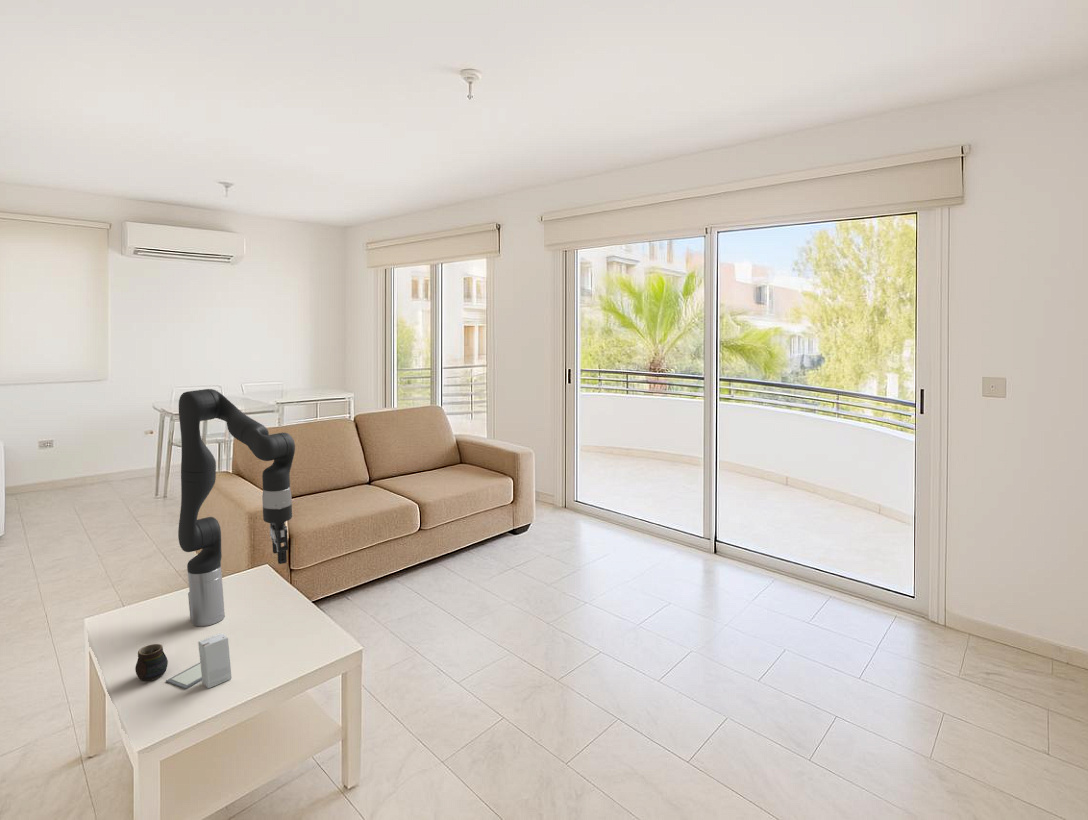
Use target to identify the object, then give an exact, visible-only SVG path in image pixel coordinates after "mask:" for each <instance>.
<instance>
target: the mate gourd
mask: <svg viewBox="0 0 1088 820" xmlns="http://www.w3.org/2000/svg"><path fill="white" fill-rule="evenodd" d="M163 647H164V646H163V644H160V643H151V644H148V645H145V646H143V647H141V648H139V650H138V652H137V661H136V664H135V666H134V668H135V669H134V670H135V674H136V676H137V678H138V679H139V680H140V681H144V682H151V681H155V680H158V679H159V678H161V677H162V676H163V675H165V673H166V672H167V670H168V669H167V667H168V663H169V660H168V658H167V656H166V654H165V652H164V648H163Z"/></svg>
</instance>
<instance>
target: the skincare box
mask: <svg viewBox="0 0 1088 820" xmlns="http://www.w3.org/2000/svg"><path fill="white" fill-rule="evenodd" d="M197 645H198V652H199V663H200V664H201V674H202V681H201V683H202V684H203V685H204V686H205V687H206V688H207V689H211V688H213V687H215V686H217V685H220V684H223V683H224V682H227V681H229V680H232V679H233V678H232V667H231V657H230V646H229V638H228V636H227V635H225V634H224V633H222V632H221V633H218V634H215V635H212V636H209V637H208V638H207V637H206V638H204V639H202V640H201V639H200V640H199V641H198V642H197Z"/></svg>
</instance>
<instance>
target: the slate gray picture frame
mask: <svg viewBox="0 0 1088 820" xmlns="http://www.w3.org/2000/svg"><path fill="white" fill-rule="evenodd" d="M165 682H166V683H169V684H172V685H174V686H177V687H179V688H182V689H184V690H188V689H189V688H191V687H194V686H195V685H196V684H198V683H200V682H202V674H201V664H200V662H198V663H197V664H196V663H195V664H194V665H192V666H190V667H188V668H186V669H185V670H183V671H181V672H180V673H177V674H174V676H172V677H170V678H168V679H166V680H165Z"/></svg>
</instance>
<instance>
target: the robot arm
mask: <svg viewBox="0 0 1088 820" xmlns="http://www.w3.org/2000/svg"><path fill="white" fill-rule="evenodd" d="M178 418H179V419H178V420H179V429H180V440H181V462H180V486H181V488H180V489H181V490H180V491H181V492H180V493H181V494H180V511H179V521H178V528H177V529H178V531H177V533H178V544H179V547H180V548H181V550H182V551H184V552H186V553H191V552H196V551H200V552H199V553H198V554H197V555H195V556H193V557H192V558H191V559H190V560H188V562H187V563H186V568H187V569H186V570H187V578H188V589H189V590H188V591H189V592H188V593H187V596H188V607H189V619H190V622H191V623H192V625H193V626H196V627H208V626H211V625H214V624H217V623H219V622H221V621H222V620H224V619H225V617H226V616H225V614H226V613H225V601H224V588H223V576H222V575H223V574H222V564H221V562H222V556H223V555H222V530H221V526H220V522H219V521H218V519H216V518H215V517H213V516H207V517H204V518H203V517H202V518H199V519H198V515H199V512H200V509H201V507H202V505H203V503H204V502H205V501H206V500H207V498H208V496H209V494H210V493H211V491H212V490H213V488H214V486H215V484H216V478H217V475H216V473H217V461H216V458H215V456H214V455H213V453H212V452H211V451H210V449H209V448H208V447H207V445H206V444H205V442H204V440H203V439H202V436H201V430H200V428H201V427H200V426H201V425H200V424H201V422H203V421H208V420H215V419H218V420H221V421H224V422H225V423H226V427H227V431H228V433H229V434H230V435H231V436H232V437H233V438H234V439H236V440H237V441H239V442H241V443H242V444H244V445H246V446H247V447H248V449H249V450H250V451H251V452H252V454H253V455H254V456H255V458H257V459H259V460H261V461H264V462H271V461H273V463H272V464H271V465H270V466H268V467H266V468H265V469H263V471H262V476H261V477H262V517H263V521H264V522H265V523H267V524H269V536H270V540H271V541H272V553H273V554H276V555H277V564H279V565H283V564H286V563H287V561H288V560H287V551H289V541H288V539H289V538H288V526H286V522H289V521H290V520H291V519H292V518H293V509H292V508H293V506H292V505H293V504H292V503H293V502H292V500H293V499H292V490H291V480H290V479H291V478H290V474H291V473H290V472H291V468H292V465H293V461H294V456H295V453H296V445H295V444H296V443H295V440H294V439H293V437H292V435H290V433H287V432H278V433H274V434H273V433H272V434H270V433H269V430H268V428H267V427H266V426H265V425H264V424H262V423H260V422H258V421H257V420H255V419H253V418H251V417H250V416H248V415H246V414H245V413H244V412H243V411H241V410H240V408H238V407H237V406H236V405H235V404H233V402H232V401H230V400H229V399H228V398H227V397H226V396H224V394H222V392H219V391H218V390H216V389H212V388H205V389H204V388H203V389H198V390H197V389H196V390H189V391H188V390H187V391H185V392H183V393H182V394H180V397H179V400H178ZM282 544H283V545H284V546H283V545H282Z"/></svg>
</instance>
